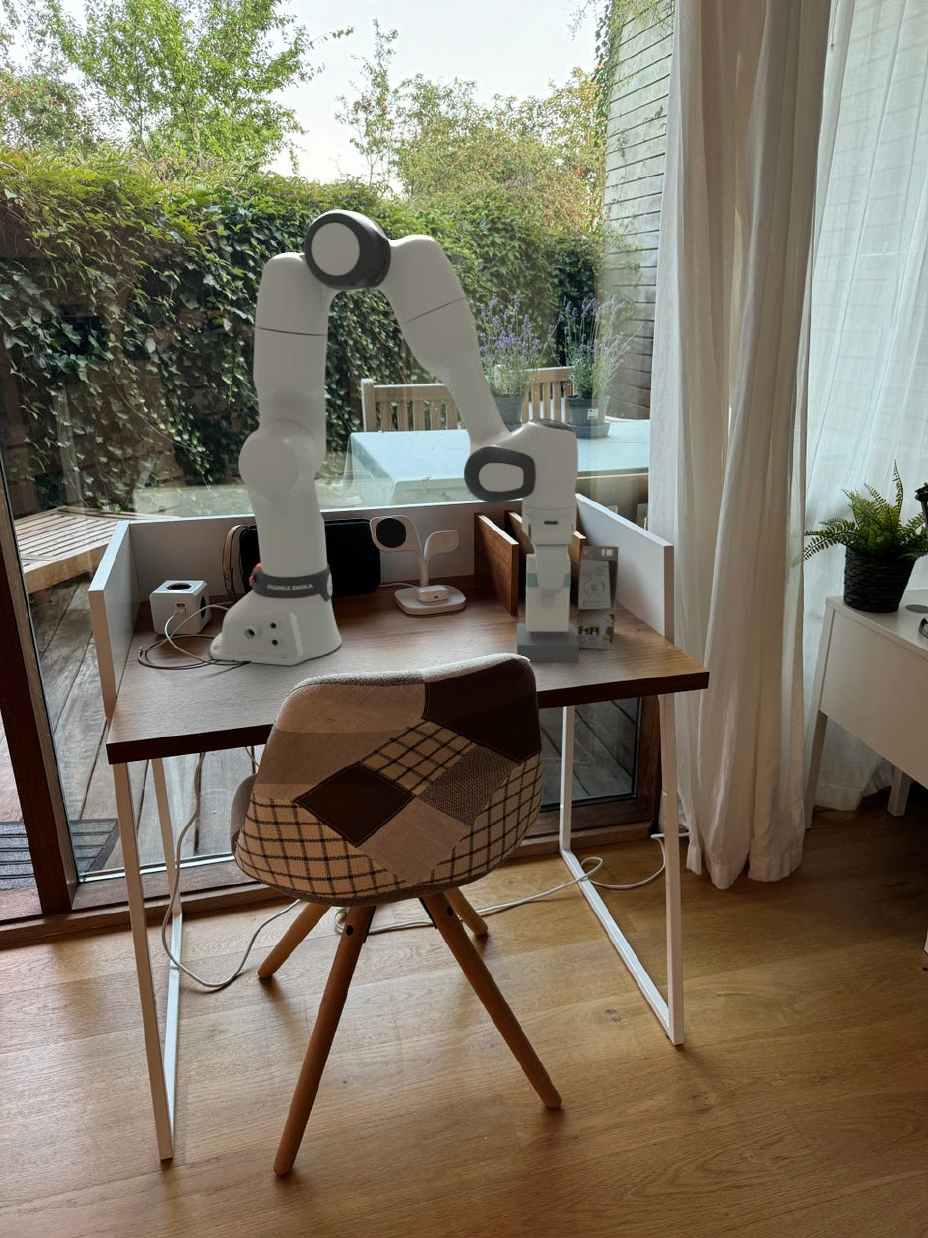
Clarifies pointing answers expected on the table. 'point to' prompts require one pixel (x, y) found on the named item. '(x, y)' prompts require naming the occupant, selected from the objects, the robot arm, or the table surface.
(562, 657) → the podium
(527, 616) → the carton
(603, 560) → the coffee box
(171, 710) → the table surface
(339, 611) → the table surface
